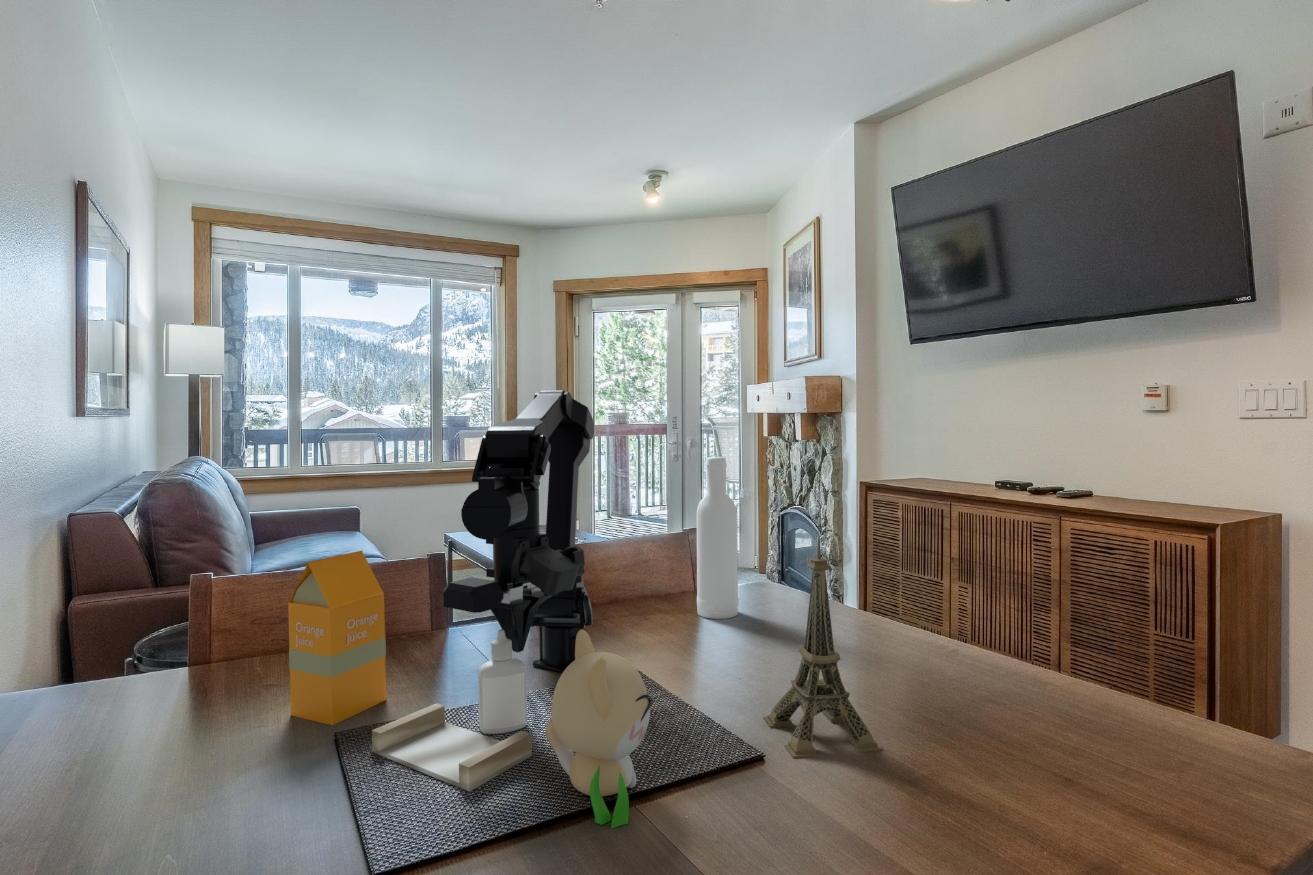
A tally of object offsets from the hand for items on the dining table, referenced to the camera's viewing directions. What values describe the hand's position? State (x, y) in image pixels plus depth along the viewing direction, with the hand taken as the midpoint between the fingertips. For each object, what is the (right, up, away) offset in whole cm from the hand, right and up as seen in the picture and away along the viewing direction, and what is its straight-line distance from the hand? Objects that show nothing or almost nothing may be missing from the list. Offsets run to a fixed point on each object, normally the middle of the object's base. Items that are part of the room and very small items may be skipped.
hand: (518, 651), depth 88 cm
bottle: (+29, -7, +48) cm, 56 cm away
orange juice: (-24, -9, +5) cm, 27 cm away
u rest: (-6, -9, -9) cm, 14 cm away
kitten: (+12, -9, -17) cm, 22 cm away
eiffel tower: (+37, -9, -4) cm, 38 cm away
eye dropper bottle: (-1, -9, -2) cm, 9 cm away
